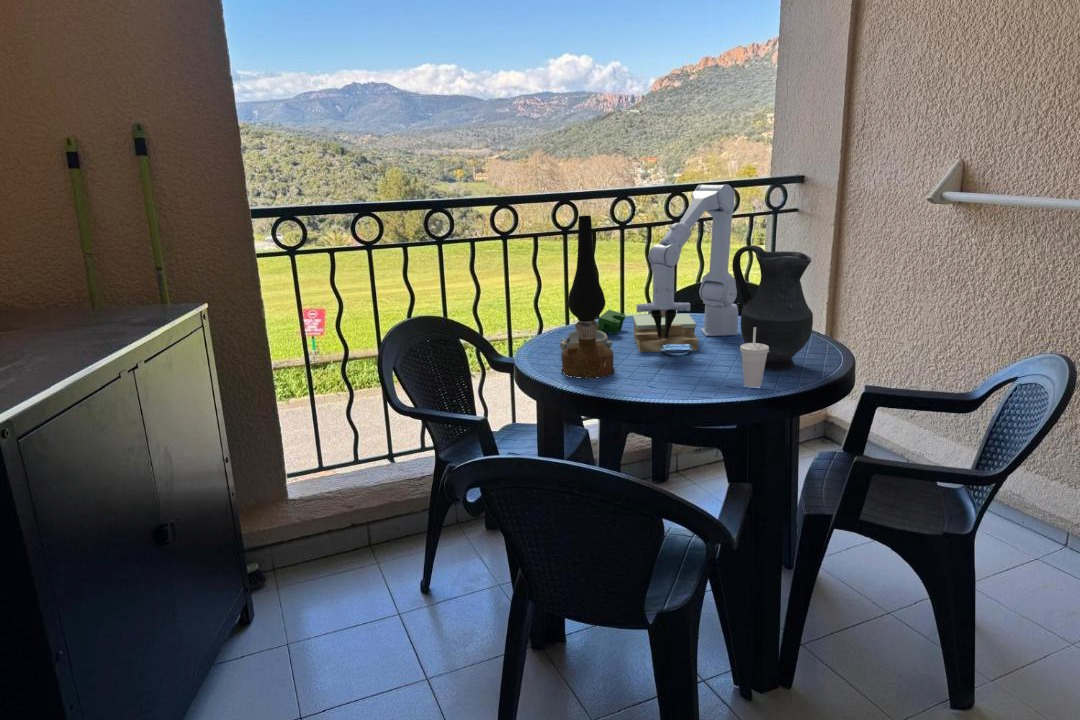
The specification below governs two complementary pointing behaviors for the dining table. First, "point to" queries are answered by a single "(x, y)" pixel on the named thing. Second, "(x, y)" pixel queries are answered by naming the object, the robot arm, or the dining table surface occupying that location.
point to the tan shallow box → (666, 339)
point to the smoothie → (753, 361)
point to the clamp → (611, 322)
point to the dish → (574, 335)
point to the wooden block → (646, 335)
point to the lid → (676, 326)
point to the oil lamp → (586, 314)
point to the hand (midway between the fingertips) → (662, 336)
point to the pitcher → (775, 305)
